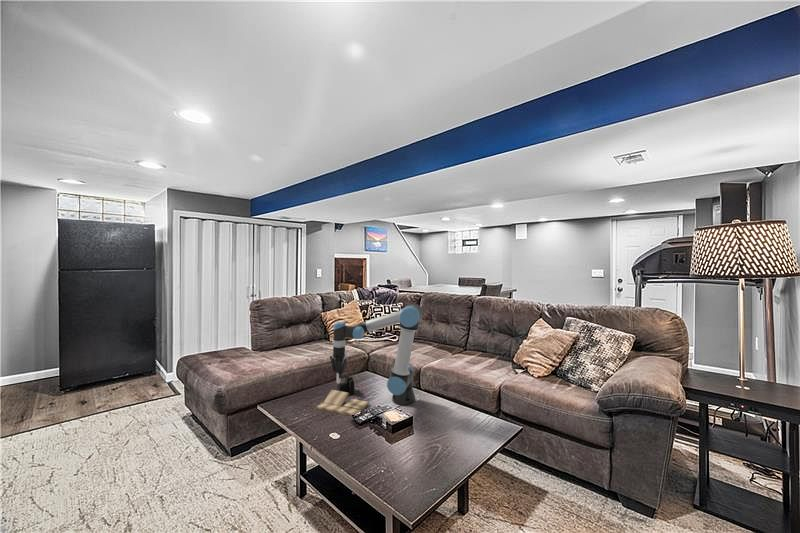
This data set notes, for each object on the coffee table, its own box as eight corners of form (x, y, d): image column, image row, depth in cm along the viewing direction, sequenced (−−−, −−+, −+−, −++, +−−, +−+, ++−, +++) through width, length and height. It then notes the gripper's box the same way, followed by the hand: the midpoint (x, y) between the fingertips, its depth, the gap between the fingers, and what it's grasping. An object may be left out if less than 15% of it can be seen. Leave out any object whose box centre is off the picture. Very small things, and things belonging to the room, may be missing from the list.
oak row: (361, 412, 200) (361, 410, 200) (356, 416, 195) (356, 414, 195) (322, 404, 211) (322, 402, 211) (316, 408, 205) (316, 406, 205)
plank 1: (348, 393, 215) (348, 392, 214) (341, 407, 207) (340, 405, 206) (331, 390, 220) (331, 389, 219) (324, 403, 212) (323, 402, 211)
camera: (335, 389, 236) (335, 375, 236) (349, 387, 241) (349, 373, 240) (340, 396, 223) (340, 382, 223) (355, 394, 228) (355, 379, 228)
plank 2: (369, 403, 211) (369, 401, 211) (361, 411, 202) (361, 409, 202) (351, 400, 216) (351, 398, 216) (343, 407, 207) (343, 405, 206)
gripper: (351, 346, 216) (350, 382, 216) (333, 343, 221) (333, 379, 221) (344, 348, 209) (344, 386, 209) (327, 346, 214) (326, 383, 214)
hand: (338, 382), depth 215 cm, fingers closed
